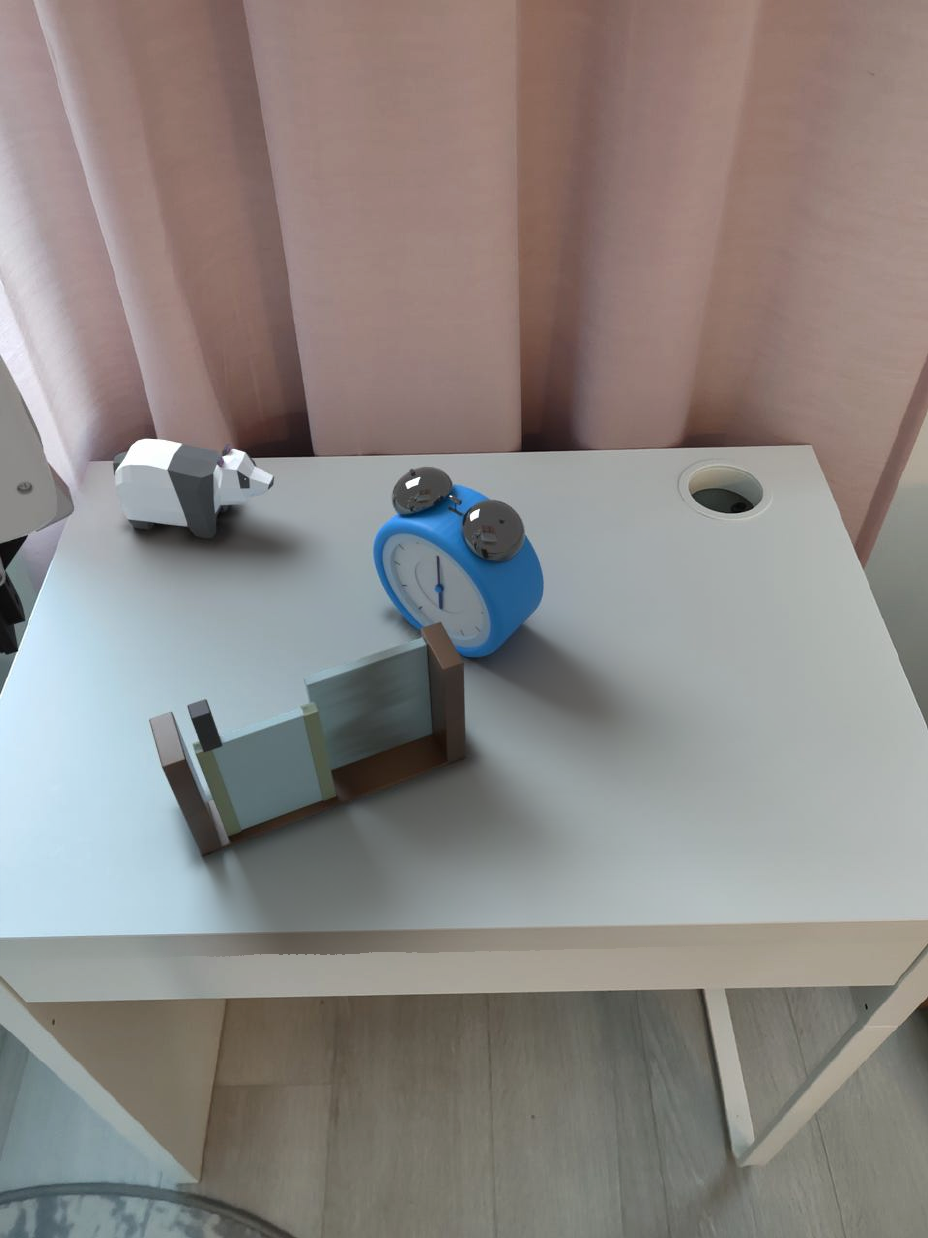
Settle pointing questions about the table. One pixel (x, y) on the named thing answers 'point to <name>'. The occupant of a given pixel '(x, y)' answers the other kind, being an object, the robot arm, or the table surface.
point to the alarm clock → (457, 562)
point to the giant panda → (184, 484)
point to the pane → (263, 765)
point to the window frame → (350, 732)
